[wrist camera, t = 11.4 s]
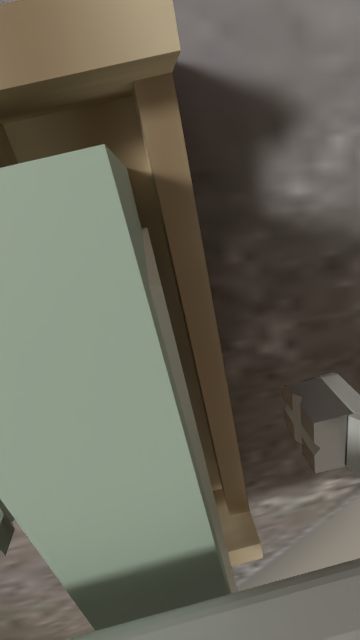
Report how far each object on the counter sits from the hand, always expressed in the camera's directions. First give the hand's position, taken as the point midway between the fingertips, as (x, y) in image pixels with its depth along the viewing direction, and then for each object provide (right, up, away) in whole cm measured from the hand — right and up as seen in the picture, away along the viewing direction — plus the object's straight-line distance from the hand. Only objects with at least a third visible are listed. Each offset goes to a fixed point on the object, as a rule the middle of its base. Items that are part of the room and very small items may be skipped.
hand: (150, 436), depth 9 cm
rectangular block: (-1, +2, +4) cm, 4 cm away
